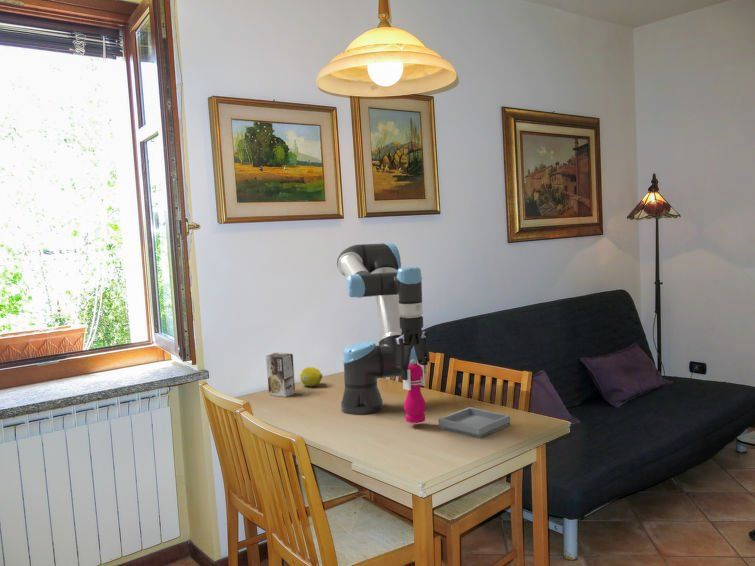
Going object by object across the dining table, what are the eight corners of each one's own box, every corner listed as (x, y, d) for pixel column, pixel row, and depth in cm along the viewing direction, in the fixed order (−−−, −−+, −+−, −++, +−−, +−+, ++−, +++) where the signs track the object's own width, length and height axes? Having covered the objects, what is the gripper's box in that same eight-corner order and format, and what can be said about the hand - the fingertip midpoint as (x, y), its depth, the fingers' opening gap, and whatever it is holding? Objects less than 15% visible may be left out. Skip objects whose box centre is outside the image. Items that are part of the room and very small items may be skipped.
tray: (438, 427, 198) (438, 418, 197) (469, 415, 209) (469, 406, 208) (479, 438, 186) (479, 428, 186) (510, 424, 197) (509, 415, 197)
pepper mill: (425, 423, 197) (422, 361, 195) (402, 423, 198) (399, 361, 196) (428, 416, 204) (425, 356, 202) (406, 416, 205) (403, 356, 203)
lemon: (296, 386, 261) (295, 367, 260) (311, 382, 266) (310, 364, 265) (311, 390, 253) (310, 371, 252) (327, 386, 258) (325, 367, 257)
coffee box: (296, 393, 249) (293, 353, 248) (285, 397, 244) (282, 356, 242) (278, 391, 254) (276, 352, 253) (268, 395, 249) (265, 355, 247)
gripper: (398, 321, 188) (402, 395, 191) (439, 312, 201) (442, 382, 204) (381, 319, 194) (385, 391, 196) (422, 311, 207) (425, 379, 209)
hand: (414, 387), depth 200 cm, fingers closed on pepper mill, 6 cm apart
